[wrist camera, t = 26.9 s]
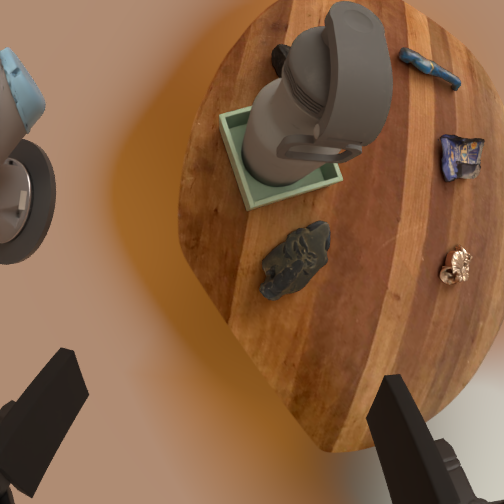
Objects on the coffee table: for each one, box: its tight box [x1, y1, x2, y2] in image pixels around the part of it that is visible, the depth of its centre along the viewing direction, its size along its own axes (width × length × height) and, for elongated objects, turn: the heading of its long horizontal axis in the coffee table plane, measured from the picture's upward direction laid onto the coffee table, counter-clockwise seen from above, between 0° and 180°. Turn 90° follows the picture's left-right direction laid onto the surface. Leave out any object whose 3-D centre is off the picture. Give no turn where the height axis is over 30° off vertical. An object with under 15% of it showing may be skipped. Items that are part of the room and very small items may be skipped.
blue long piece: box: [399, 47, 461, 91], centre depth 41 cm, size 5×4×15 cm
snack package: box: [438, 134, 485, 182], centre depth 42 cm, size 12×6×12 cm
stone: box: [259, 221, 330, 301], centre depth 40 cm, size 7×13×5 cm, turn 135°
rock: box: [272, 44, 291, 78], centre depth 37 cm, size 7×10×6 cm
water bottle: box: [241, 1, 393, 187], centre depth 26 cm, size 10×10×28 cm
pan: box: [219, 106, 343, 211], centre depth 38 cm, size 13×13×6 cm
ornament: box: [440, 245, 472, 285], centre depth 44 cm, size 8×7×4 cm
